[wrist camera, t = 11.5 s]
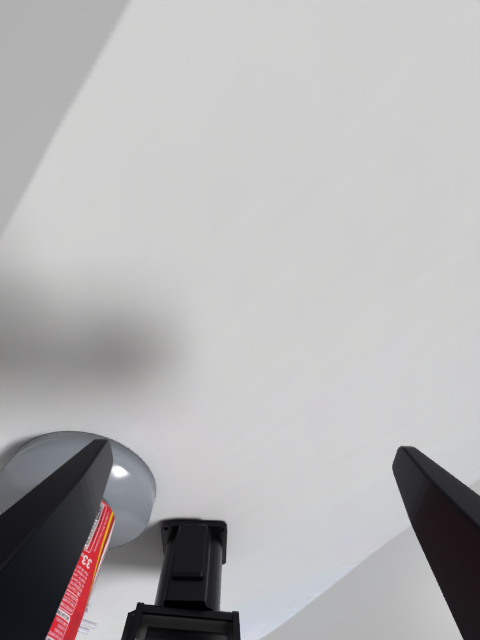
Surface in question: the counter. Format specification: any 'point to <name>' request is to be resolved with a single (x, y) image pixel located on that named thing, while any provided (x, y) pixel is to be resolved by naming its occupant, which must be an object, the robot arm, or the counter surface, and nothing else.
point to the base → (121, 490)
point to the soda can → (83, 578)
